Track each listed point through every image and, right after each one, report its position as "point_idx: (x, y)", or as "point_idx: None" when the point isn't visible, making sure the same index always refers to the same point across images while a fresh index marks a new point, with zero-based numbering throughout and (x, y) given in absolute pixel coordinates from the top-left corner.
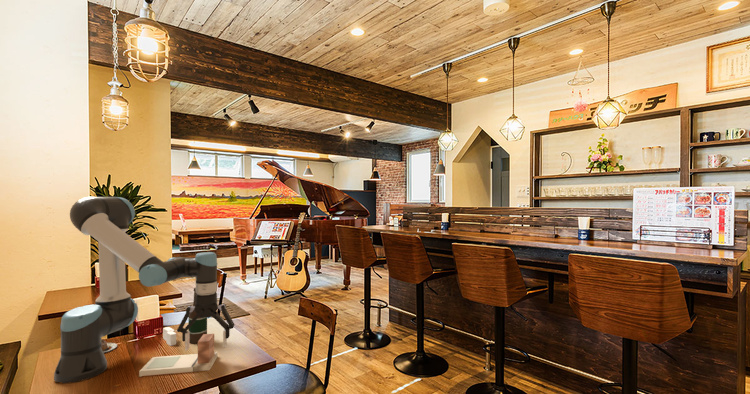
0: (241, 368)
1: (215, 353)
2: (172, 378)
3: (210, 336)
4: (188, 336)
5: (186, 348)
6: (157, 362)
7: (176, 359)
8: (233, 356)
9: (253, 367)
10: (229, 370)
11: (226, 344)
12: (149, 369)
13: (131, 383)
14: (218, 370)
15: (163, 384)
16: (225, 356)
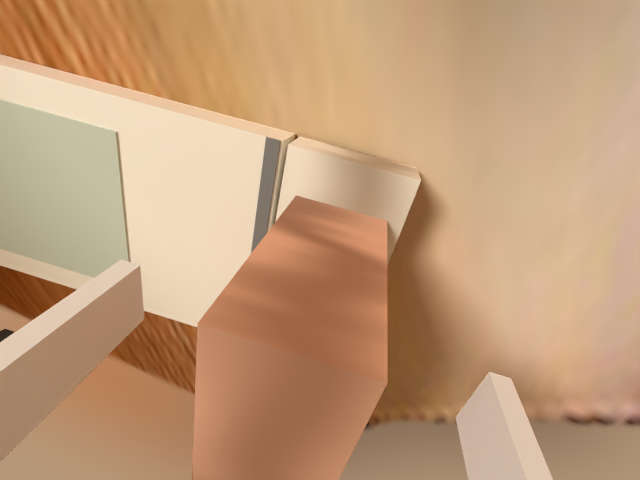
0: (523, 401)
1: (397, 221)
2: (179, 332)
3: (319, 453)
4: (9, 406)
5: (122, 331)
6: (3, 181)
7: (109, 188)
8: (550, 209)
9: (594, 423)
10: (452, 389)
11: (509, 397)
12: (20, 262)
13: (23, 293)
14: (394, 362)
15: (161, 363)
16: (485, 177)
